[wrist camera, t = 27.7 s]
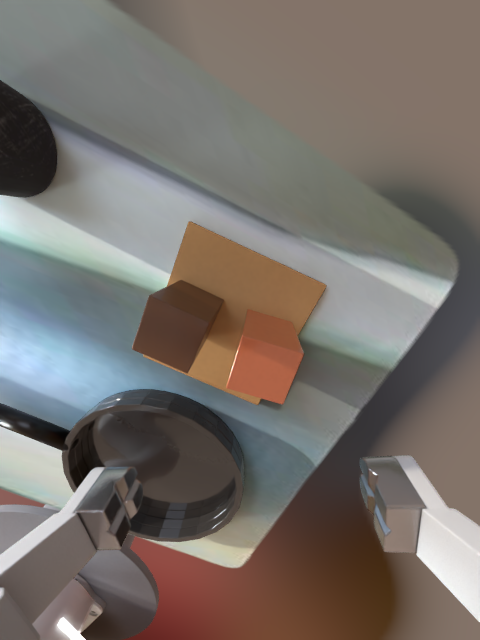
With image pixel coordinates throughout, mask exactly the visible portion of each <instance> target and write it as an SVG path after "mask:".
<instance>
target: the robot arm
mask: <svg viewBox="0 0 480 640" xmlns="http://www.w3.org/2000/svg"><path fill="white" fill-rule="evenodd" d="M360 467H361V470H362V472H363V473H362V474H361V475H360V486H361V491H362V495H363V499H364V501H365V504H366V507H367V509H368V511H370V512H371V513H372V514H373V515H374V527H375V529H376V532H377V534H378V537H379V539H380V542H381V544H382V547H383V550H384V552H400V553H417V556H418V557H419V558H420V559H421V560H422V561H423V563H424V564H425V565H426V566H427V567H428V568H429V569H430V570H431V571H432V572H433V573H434V574H435V575H436V576H437V578H438V579H439V580H440V581H441V582H442V583H443V584H444V585H445V586H446V587H447V588H448V589H449V590H450V591H451V592H452V594H454V596H455V597H456V598H457V599H458V600H459V601H460V602H461V603H462V604H463V605H464V606H465V607H466V608H467V610H468V611H469V612H470V613H471V614H472V615H473V616H474V617H475V618H476V619H477V620H478V621H479V622H480V526H479V525H478V524H476V523H475V522H473V521H472V520H471V519H469V518H468V517H466V516H465V515H463V514H462V513H461V512H459V511H458V510H456V509H453V508H448V506H447V505H446V503H445V502H444V501H443V499H442V498H441V496H440V495H439V493H438V492H437V491H436V489H435V488H434V486H433V485H432V483H431V482H430V481H429V479H428V478H427V476H426V475H425V474H424V472H423V471H422V470H421V468H420V467H419V465H418V464H417V462H416V461H415V460H414V458H413V457H411V456H383V457H382V456H380V457H362V458H361V459H360ZM137 474H138V473H137V471H136V469H135V467H96V468H94V469H93V470H91V471H90V473H89V474H88V475H87V477H86V478H85V479H84V481H83V482H82V483H81V485H80V486H79V487H78V489H77V490H76V491H75V493H74V494H73V495H72V497H71V498H70V499H69V501H68V502H67V503H66V505H65V506H64V508H63V509H62V510H61V512H60V513H55V514H54V515H52V516H51V517H50V518H49V519H47V520H46V521H45V522H43V523H42V524H41V525H39V526H38V527H37V528H35V529H34V530H33V531H31V532H30V533H29V534H27V535H26V536H25V537H23V538H22V539H21V540H19V541H18V542H17V543H15V544H14V545H13V546H11V547H10V548H9V549H7V550H6V551H5V552H3V553H2V554H1V555H0V640H85V639H84V638H83V637H82V636H81V633H82V632H83V631H84V630H85V629H86V628H87V627H88V626H89V625H90V624H91V623H92V622H93V621H94V620H95V619H96V618H97V617H98V616H99V615H100V614H101V613H102V612H103V610H104V608H105V606H106V602H105V601H104V600H103V599H101V598H100V597H99V596H98V595H96V594H95V592H94V591H93V590H92V588H91V586H90V585H89V584H88V583H87V582H86V581H85V580H84V579H83V578H82V577H81V576H79V575H78V572H79V571H80V570H81V569H82V568H83V567H84V566H85V565H86V564H87V562H88V561H89V560H90V559H91V558H92V557H93V556H94V555H95V553H96V552H97V551H96V550H120V549H121V547H122V545H123V543H124V541H125V538H126V536H127V534H128V532H129V530H130V527H131V523H130V519H131V518H132V517H133V516H134V515H135V514H136V513H137V512H138V510H139V507H140V505H141V502H142V497H143V487H142V484H141V482H140V481H139V480H137V479H136V476H137Z"/></svg>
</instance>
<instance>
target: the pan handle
mask: <svg viewBox="0 0 480 640" xmlns="http://www.w3.org/2000/svg"><path fill="white" fill-rule="evenodd" d="M0 426H1V427H4V428H6V429H9V430H11V431H14V432H17V433H19V434H22V435H24V436H27V437H29V438H32V439H34V440H37V441H39V442H42V443H44V444H47V445H49V446H52V447H54V448H57V449H59V450H62V451H67V450H68V449H69V448H68V446H67V445H66V444H65V440H66V437H67V436H68V434H69V433H70V431H69V430H67V429H64V428H62V427H59V426H57V425H54V424H52V423H49V422H47V421H44V420H42V419H39V418H37V417H34V416H32V415H29V414H27V413H24V412H22V411H19V410H17V409H14V408H12V407H9V406H7V405H4V404H1V403H0ZM78 441H79V438H77V440H76V441H75V442H74V443H73V445H72V447H71V450H72V449H73V448H75V447H76V445H77V444H78Z"/></svg>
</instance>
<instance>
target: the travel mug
mask: <svg viewBox="0 0 480 640" xmlns="http://www.w3.org/2000/svg"><path fill="white" fill-rule="evenodd" d="M56 165H57V153H56V146H55V141H54V138H53V135H52V132H51V129H50V127H49V125H48V123H47V122H46V120H45V118H44V117H43V115H42V114H41V113H40V111H39V110H38V109H37V108H36V107H35V106H34V105H33V103H32V102H30V101H29V100H28V99H27V98H26V97H24V96H23V95H22V94H20V93H19V92H17V91H16V90H14V89H13V88H11V87H10V86H8V85H7V84H5V83H4V82H2V81H1V80H0V195H7V196H14V197H30V196H34V195H37V194H39V193H41V192H42V191H44V190H45V189H46V188H47V187H48V186H49V184H50V183H51V181H52V179H53V177H54V174H55V171H56Z"/></svg>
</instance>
